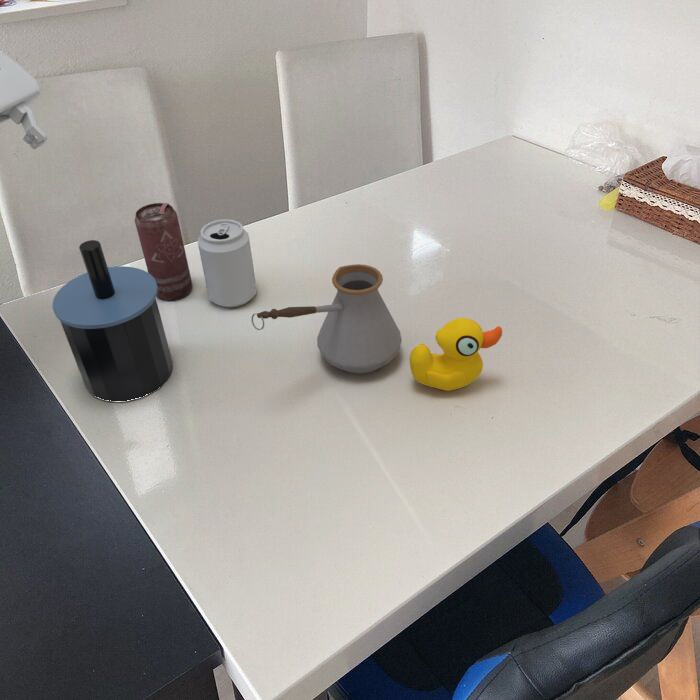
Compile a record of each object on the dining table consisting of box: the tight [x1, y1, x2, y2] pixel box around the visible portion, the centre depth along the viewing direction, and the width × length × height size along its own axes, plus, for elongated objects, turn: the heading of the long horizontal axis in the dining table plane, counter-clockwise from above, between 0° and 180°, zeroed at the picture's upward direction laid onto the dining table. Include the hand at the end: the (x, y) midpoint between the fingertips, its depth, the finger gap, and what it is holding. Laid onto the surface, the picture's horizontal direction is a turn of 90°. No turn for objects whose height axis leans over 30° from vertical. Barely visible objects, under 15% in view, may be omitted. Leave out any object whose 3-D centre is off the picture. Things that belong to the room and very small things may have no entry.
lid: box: [52, 239, 158, 329], centre depth 82 cm, size 13×13×8 cm
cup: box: [59, 298, 174, 401], centre depth 89 cm, size 12×12×12 cm
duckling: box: [409, 317, 503, 391], centre depth 86 cm, size 11×5×10 cm, turn 93°
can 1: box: [134, 202, 193, 302], centre depth 103 cm, size 6×6×14 cm
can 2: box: [197, 218, 258, 309], centre depth 102 cm, size 8×8×12 cm
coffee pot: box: [251, 263, 403, 375], centre depth 87 cm, size 21×12×15 cm, turn 131°
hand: (13, 160), depth 76 cm, fingers open, 8 cm apart
